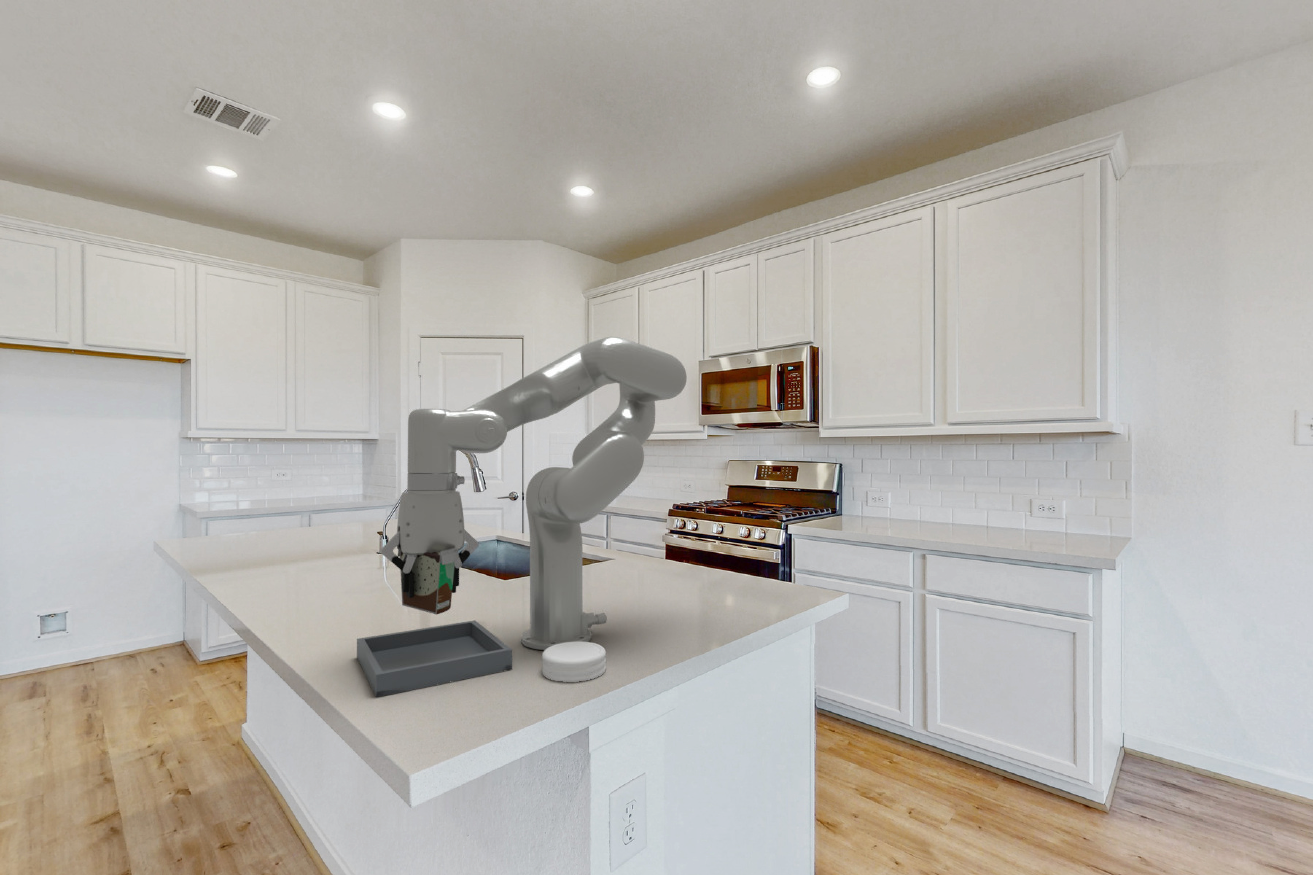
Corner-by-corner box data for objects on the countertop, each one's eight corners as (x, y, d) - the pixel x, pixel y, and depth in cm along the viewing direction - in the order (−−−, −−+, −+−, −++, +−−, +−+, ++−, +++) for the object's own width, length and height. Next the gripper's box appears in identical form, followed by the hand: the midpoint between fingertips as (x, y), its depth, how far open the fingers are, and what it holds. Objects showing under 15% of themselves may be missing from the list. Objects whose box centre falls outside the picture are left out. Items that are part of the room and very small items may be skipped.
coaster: (575, 657, 106) (575, 636, 106) (618, 670, 100) (618, 648, 100) (528, 674, 98) (528, 651, 98) (572, 689, 92) (572, 665, 92)
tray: (475, 637, 116) (475, 620, 116) (512, 669, 100) (512, 649, 100) (356, 657, 106) (356, 638, 106) (376, 697, 89) (376, 674, 89)
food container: (474, 607, 102) (475, 546, 102) (442, 616, 97) (442, 551, 97) (429, 596, 109) (429, 539, 109) (397, 604, 104) (397, 544, 104)
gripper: (477, 481, 111) (476, 583, 110) (371, 484, 101) (370, 595, 101) (490, 483, 104) (489, 591, 104) (379, 486, 95) (377, 605, 95)
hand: (430, 592), depth 103 cm, fingers closed on food container, 6 cm apart
